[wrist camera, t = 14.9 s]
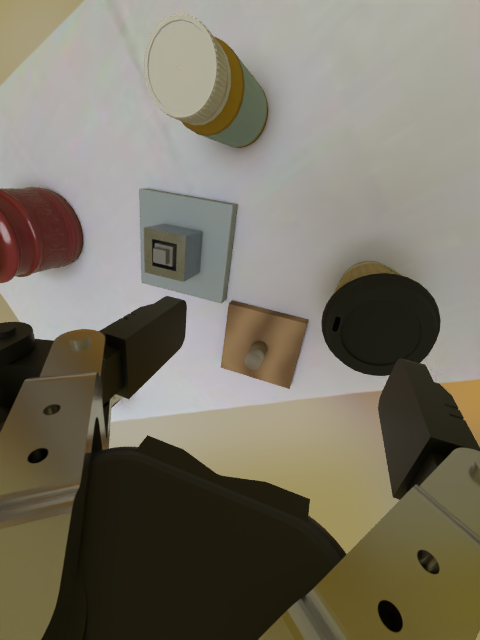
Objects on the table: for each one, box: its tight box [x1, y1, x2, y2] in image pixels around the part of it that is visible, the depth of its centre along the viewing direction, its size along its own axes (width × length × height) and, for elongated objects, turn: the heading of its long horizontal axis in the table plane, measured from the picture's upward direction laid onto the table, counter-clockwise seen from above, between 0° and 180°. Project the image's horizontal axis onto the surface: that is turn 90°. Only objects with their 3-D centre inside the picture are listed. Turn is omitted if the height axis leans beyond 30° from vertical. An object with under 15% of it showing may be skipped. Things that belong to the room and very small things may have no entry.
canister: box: [0, 187, 82, 283], centre depth 42 cm, size 13×13×18 cm
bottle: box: [144, 14, 268, 148], centre depth 28 cm, size 7×7×15 cm
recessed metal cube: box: [144, 224, 203, 282], centre depth 39 cm, size 6×6×5 cm
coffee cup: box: [322, 261, 440, 376], centre depth 31 cm, size 10×10×15 cm
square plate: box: [139, 189, 238, 303], centre depth 40 cm, size 14×14×8 cm
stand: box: [221, 301, 308, 389], centre depth 43 cm, size 12×12×6 cm
